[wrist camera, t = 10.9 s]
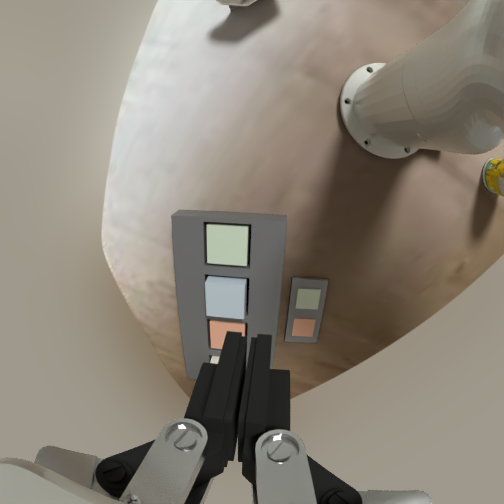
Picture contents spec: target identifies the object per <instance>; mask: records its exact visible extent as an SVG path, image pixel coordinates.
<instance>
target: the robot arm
mask: <svg viewBox="0 0 504 504" xmlns="http://www.w3.org/2000/svg"><path fill="white" fill-rule="evenodd" d="M367 70H369V73H368V72H367ZM345 101H347V102H348V104H345ZM340 111H341V116H342V119H343V122H344V124H345V126H346V129H347V131H348V132H349V134H350V135H351V136H352V138H353V139H354V140H355V141H356V142H357V143H358V144H359V145H360V146H361V147H362V148H364V149H365V150H367V151H368V152H370V153H372V154H374V155H376V156H380V157H384V158H390V159H397V158H403V157H407V156H409V155H411V154H413V153H415V152H416V151H417V150H419V149H430V150H439V151H447V152H455V153H461V154H482V153H485V152H488V151H490V150H492V149H493V148H495V147H496V146H498V145H499V144H500V143H501V142H502V140H503V139H504V0H471V1H469V3H468V4H467V5H466V6H465V7H464V8H463V9H462V10H461V11H460V12H459V13H458V14H457V15H456V16H455V17H454V18H453V19H452V20H450V21H449V22H448V23H447V24H446V25H444V26H443V27H442V28H440V29H439V30H437V31H436V32H434V33H433V34H432V35H430V36H429V37H427V38H426V39H424V40H423V41H421V42H419V43H418V44H416V45H415V46H414V47H412V48H410V49H409V50H407V51H406V52H404V53H403V54H401V55H400V56H398V57H397V58H395V59H394V60H392V61H391V62H389V63H388V64H386V63H371V64H367V65H364V66H362V67H360V68H358V69H357V70H355V71H354V72H353V73H352V74H351V75H350V76H349V77H348V79H347V80H346V82H345V84H344V85H343V88H342V91H341V95H340ZM365 141H367V144H365V143H364V142H365ZM404 148H406V151H404ZM271 344H272V335H268V334H257V337H251V343H250V349H249V356H248V362H247V368H246V355H247V337H246V336H242V332H233V331H227V332H226V336H225V339H224V343H223V347H222V350H221V354H220V357H219V361H218V364H214V363H206V362H203V364H202V366H201V369H200V372H199V375H198V378H197V381H196V384H195V387H194V390H193V393H192V395H191V398H190V401H189V405H188V407H187V411H186V414H185V417H184V418H182V419H176V420H172V421H170V422H169V423H167V424H166V425H165V426H164V427H163V428H162V430H161V432H160V433H159V435H158V437H157V438H156V440H153V441H151V442H148V443H146V444H143V445H141V446H138V447H136V448H133V449H130V450H128V451H125V452H122V453H119V454H116V455H114V456H111V457H108V458H106V459H100V458H97V456H94V455H89V454H84V453H79V452H75V451H70V450H66V449H62V448H58V447H55V446H46V447H43V448H42V449H41V450H39V452H38V454H37V456H36V459H35V463H33V462H30V461H26V460H23V459H18V458H1V459H0V504H204V502H205V499H206V497H207V494H208V492H209V489H210V487H211V485H212V483H213V480H214V477H215V476H217V475H219V474H221V473H223V471H224V467H227V463H228V461H233V460H234V455H235V449H236V443H237V437H238V461H239V462H242V475H243V476H244V477H245V478H246V479H247V480H248V481H249V482H250V483H251V488H252V502H253V504H432V500H431V497H430V496H429V494H427V493H425V492H424V491H419V490H412V491H379V490H368V491H367V492H363V491H356V490H355V489H354V488H352V487H351V486H349V485H348V484H346V483H345V482H344V481H342V480H341V479H339V478H338V477H336V476H335V475H334V474H332V473H331V472H329V471H328V470H326V469H325V468H324V467H322V466H321V465H320V464H318V463H317V462H316V461H314V460H313V459H312V458H310V457H309V456H308V455H307V454H306V449H305V445H304V443H303V441H302V439H301V438H300V437H299V436H298V435H296V434H295V433H293V432H291V431H290V370H277V369H270V360H271Z"/></svg>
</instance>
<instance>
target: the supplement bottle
mask: <svg viewBox="0 0 504 504" xmlns="http://www.w3.org/2000/svg"><path fill="white" fill-rule="evenodd" d="M483 181H484V185H485V186H486V188H487V189H488V190H489V191H490V192H493V193H495V194H498V195H501V196H504V160H501V159H496V158H491V159H489V160H488V161H487V162H486V164H485V166H484V168H483Z"/></svg>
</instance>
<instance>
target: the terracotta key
mask: <svg viewBox="0 0 504 504" xmlns="http://www.w3.org/2000/svg"><path fill="white" fill-rule="evenodd" d="M246 328H247V323H243V322H232V321H222V320H213V319H210V338H211V348H216V349H222V347H223V343H224V339H225V336H226V332H227V331H233V332H242V336H246Z"/></svg>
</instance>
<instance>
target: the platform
mask: <svg viewBox="0 0 504 504" xmlns="http://www.w3.org/2000/svg"><path fill="white" fill-rule="evenodd" d="M216 1H217V2H219V3H220V4H222V5H229V8H230V10H231V11H234V10H235V9H237V8H238V7H240V6H249V5H250V4H252V3H253V2H255V1H257V0H216Z"/></svg>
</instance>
